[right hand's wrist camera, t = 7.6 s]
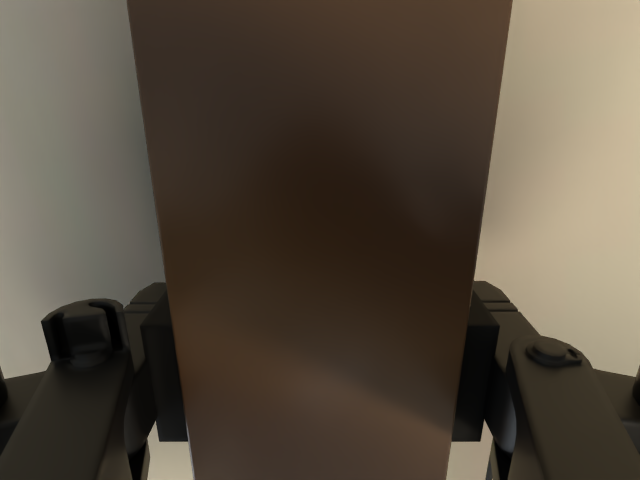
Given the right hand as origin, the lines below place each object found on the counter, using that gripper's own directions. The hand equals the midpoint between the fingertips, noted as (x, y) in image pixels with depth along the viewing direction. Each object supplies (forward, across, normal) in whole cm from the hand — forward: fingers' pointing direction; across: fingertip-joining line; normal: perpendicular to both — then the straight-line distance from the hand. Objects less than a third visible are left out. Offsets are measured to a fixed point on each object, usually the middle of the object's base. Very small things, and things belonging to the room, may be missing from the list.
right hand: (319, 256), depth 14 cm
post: (+1, 0, -25) cm, 25 cm away
